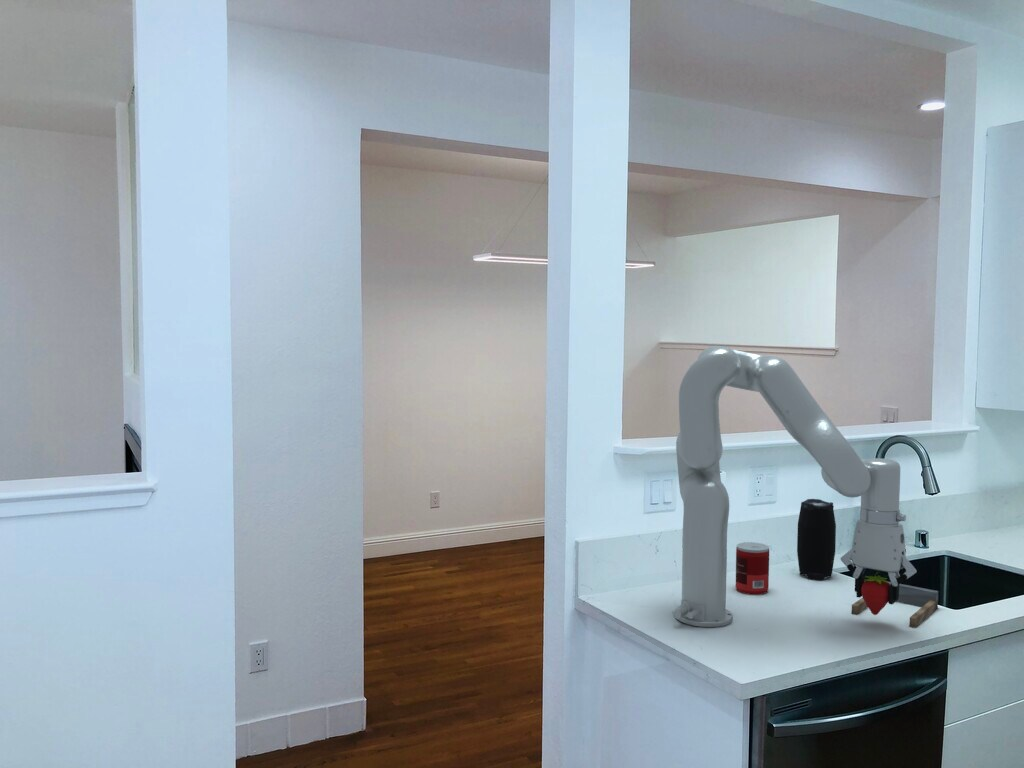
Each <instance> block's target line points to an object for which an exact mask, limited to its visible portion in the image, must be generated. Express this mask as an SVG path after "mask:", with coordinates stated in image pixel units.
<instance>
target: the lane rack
mask: <svg viewBox="0 0 1024 768" xmlns="http://www.w3.org/2000/svg"><path fill="white" fill-rule="evenodd" d="M888 582H889V584H890V585H891V581H888ZM895 603H901V604H905V605H911V606H915V607H919V609H918V610H917V611H916V612H914V613H913V614H912V615H911V616H909V624H908V625H909V627H910V628H914V629H915V628H918V626H919V625H920V624H922V623H923V622H924V621H925V620H926V619H927V618H929V617H930V616H931V615H933V613H934V612H935V611H936V610H938V609H939V608H938V606H939V605H938V604H939V590H934V589H931V588H930V589H929V588H923V587H918V586H913V585H909V584H902V583H900V584H899V599H898V600H896V602H895ZM867 608H868V607H867V605H866V603H865V601H864V599H863V597H860V598H859V599H858V600H857V601H855V602H854V603H853V604H851V614H852V615H855V616H857V615H859V614H860V613H862V612H863V611H865V610H866V609H867Z"/></svg>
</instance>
